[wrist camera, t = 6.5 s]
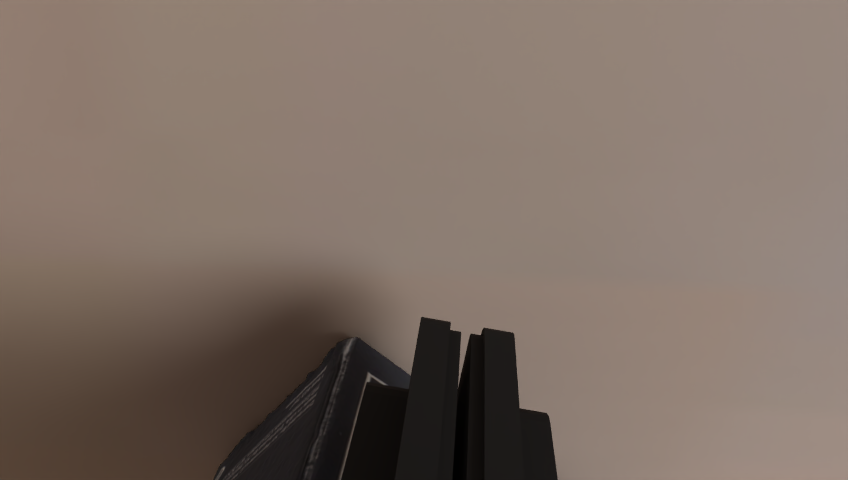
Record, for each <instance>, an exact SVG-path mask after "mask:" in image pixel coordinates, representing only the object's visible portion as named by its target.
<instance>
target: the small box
mask: <svg viewBox="0 0 848 480" xmlns="http://www.w3.org/2000/svg"><path fill="white" fill-rule="evenodd" d="M410 379H411V376H410V375H409V374H407V373H406V372H405V371H404V370H402V369H401V368H400V367H398V366H396V365H395V364H394V363H392V362H391V361H390V360H389V359H387V358H386V357H384V356H383V355H381V354H380V353H379V352H377V351H376V350H374V349H373V348H372V347H370V346H369V345H367V344H366V343H365V342H363V341H362V340H361V339H360V338H358V337H354V338H349V339H345V340H343V341H341V342H338V343H337V345H336V347H335V348H333V349H331V350H330V352H329V353H328V354H327V356H326V357H325V358H324V360H323V363H322V364H321V365H320V366H319V368H317V369H316V370H315V371H313V372H310V373H309V374H308V375H307V379H306V380H305V381H304V382H303V383H302V384H301V385H300V386H299V387H298V388H297V389H296V390H295V391H294V392H293V393H292V394H291V395H289V396H287V398H286V400H285V401H284V402H283V403H282V404H281V405H280V406H279V407H278V408H277V409H276V410H275V411H273V412H272V413H270V414H268V416H267V418H266V419H265V420H264V421H263V423H261V424H260V425H259V426H258V427H257V428H256V429H255V430H254V431H250V432H248V433H247V434H246V436H245V437H244V438H243V439H242V440H241V441H240V442H239V444H238V445H237V446H236V447H235V448H234V450H233V451H232V452H231V453H230V455H229V457H228V458H227V459H226V460H225V461H224V462H223V463H222V464H221V465H220V466H219V468H218V470H217V472H216V475H215V477H214V479H213V480H341V477H342V474H343V470H344V466H345V462H346V458H347V454H348V450H349V447H350V443H351V439H352V435H353V431H354V427H355V423H356V420H357V416H358V412H359V408H360V404H361V400H362V397H363V393H364V389H365V386H366V383H367V382H371V383H377V384H382V385H388V386H394V387H400V388H405V389H409V384H410Z"/></svg>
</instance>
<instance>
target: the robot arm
mask: <svg viewBox="0 0 848 480" xmlns="http://www.w3.org/2000/svg"><path fill="white" fill-rule="evenodd" d="M450 324H451V323H450V322H448V321H442V320H436V319H430V318H424V317H421V322H420V327H419V333H418V339H417V344H416V350H415V356H414V362H413V367H412V373H411V379H410V384H409V389H405V388H400V387H394V386H388V385H382V384H377V383H371V382H367V383H366V386H365V389H364V393H363V397H362V400H361V404H360V408H359V412H358V416H357V420H356V423H355V427H354V431H353V435H352V439H351V443H350V447H349V450H348V454H347V458H346V462H345V466H344V470H343V474H342V477H341V480H558V479H557V472H556V464H555V456H554V449H553V441H552V433H551V425H550V420H549V416H548V415H547V413H543V412H537V411H531V410H526V409H520V408H519V395H518V380H517V366H516V352H515V338H514V333H511V332H505V331H500V330H494V329H488V328H483V330H482V333H481V335H476V334H470V337H469V342H468V346H467V351H466V355H465V360H464V364H463V369H462V373H461V378H460V382H459V387H458V376H459V359H460V342H461V332H458V331H453V330H450Z"/></svg>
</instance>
